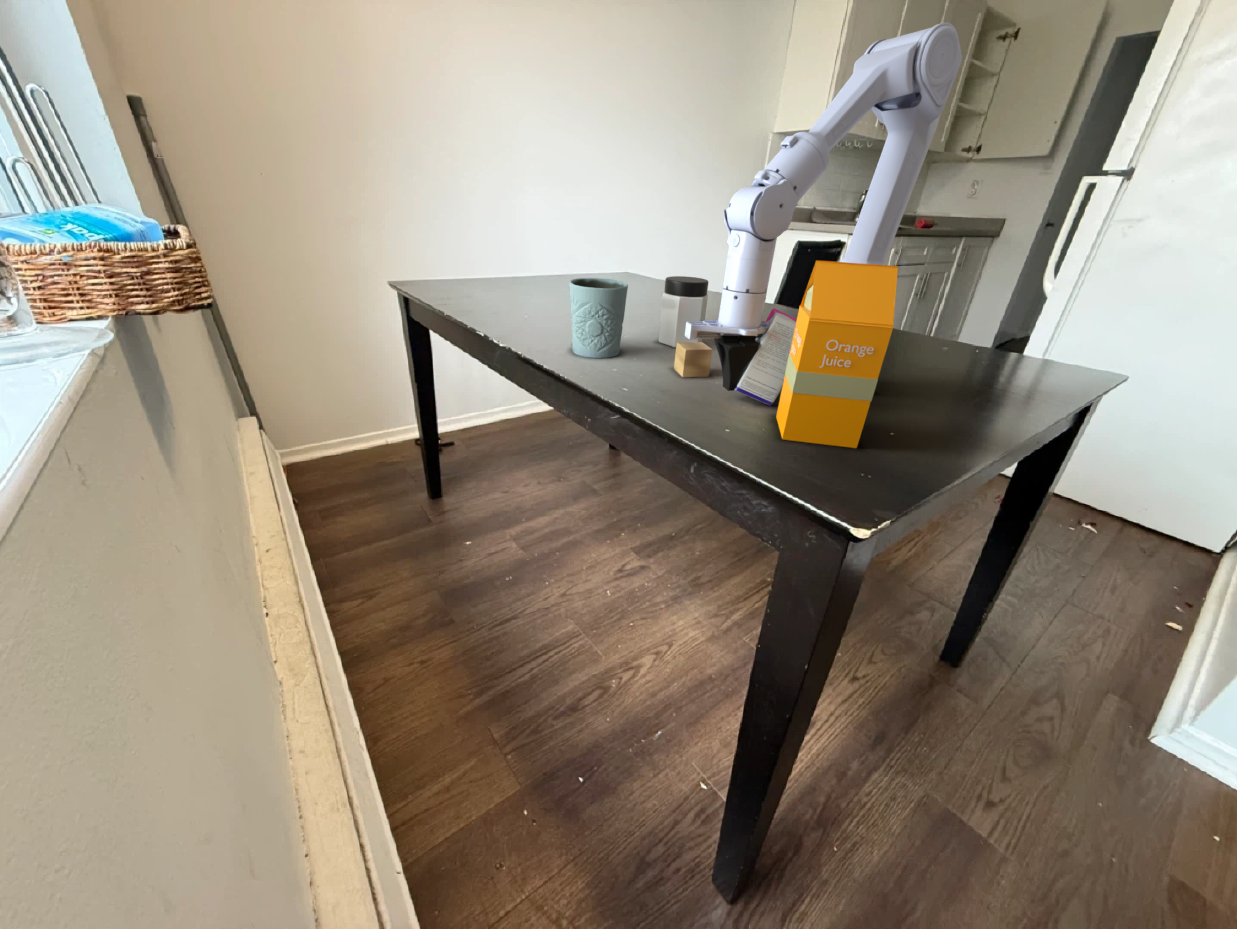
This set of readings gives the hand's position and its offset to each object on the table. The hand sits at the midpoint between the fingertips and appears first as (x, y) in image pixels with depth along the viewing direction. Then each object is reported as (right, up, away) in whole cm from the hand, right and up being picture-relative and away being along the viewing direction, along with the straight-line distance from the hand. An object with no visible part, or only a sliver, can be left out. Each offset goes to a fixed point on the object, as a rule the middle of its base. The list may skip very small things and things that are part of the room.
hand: (728, 388), depth 73 cm
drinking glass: (-20, +9, +19) cm, 29 cm away
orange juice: (+9, -7, -8) cm, 14 cm away
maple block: (-4, +4, +11) cm, 12 cm away
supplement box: (+4, -1, +1) cm, 4 cm away
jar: (-4, +13, +28) cm, 31 cm away
